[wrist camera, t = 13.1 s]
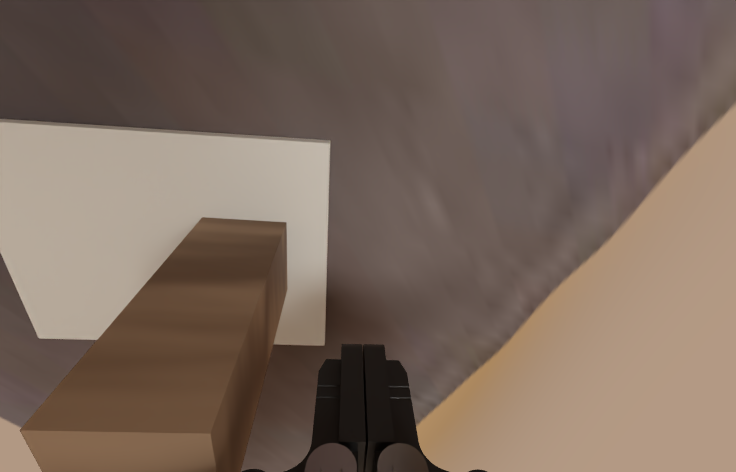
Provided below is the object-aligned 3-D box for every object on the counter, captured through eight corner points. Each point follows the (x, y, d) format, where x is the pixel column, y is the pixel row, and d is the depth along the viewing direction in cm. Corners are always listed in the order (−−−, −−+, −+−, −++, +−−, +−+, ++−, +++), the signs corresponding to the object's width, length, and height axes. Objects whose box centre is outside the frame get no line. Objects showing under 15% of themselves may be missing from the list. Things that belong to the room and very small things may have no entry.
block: (202, 217, 18) (20, 430, 8) (286, 222, 18) (210, 433, 8) (211, 285, 19) (71, 526, 10) (287, 289, 20) (226, 526, 10)
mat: (-46, 115, 16) (-60, 118, 15) (330, 140, 17) (329, 143, 16) (46, 330, 21) (38, 338, 21) (325, 338, 22) (324, 345, 22)
